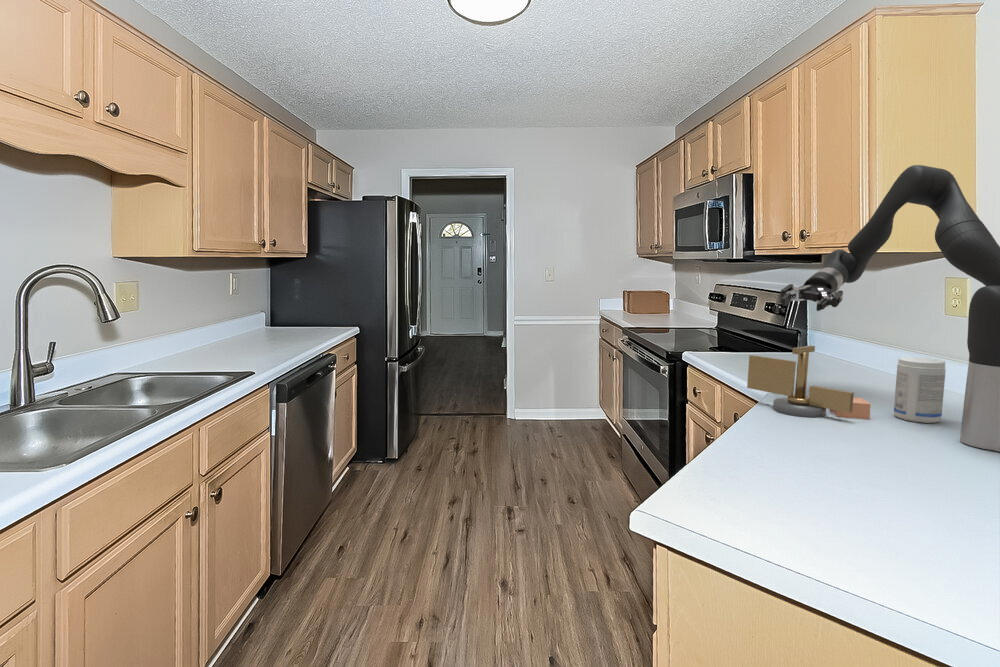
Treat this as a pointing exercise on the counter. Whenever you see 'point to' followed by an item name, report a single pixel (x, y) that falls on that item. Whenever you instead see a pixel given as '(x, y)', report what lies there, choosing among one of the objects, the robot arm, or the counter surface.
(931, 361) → the supplement tub
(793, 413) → the base
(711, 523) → the counter surface
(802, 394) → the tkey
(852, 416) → the orange block
